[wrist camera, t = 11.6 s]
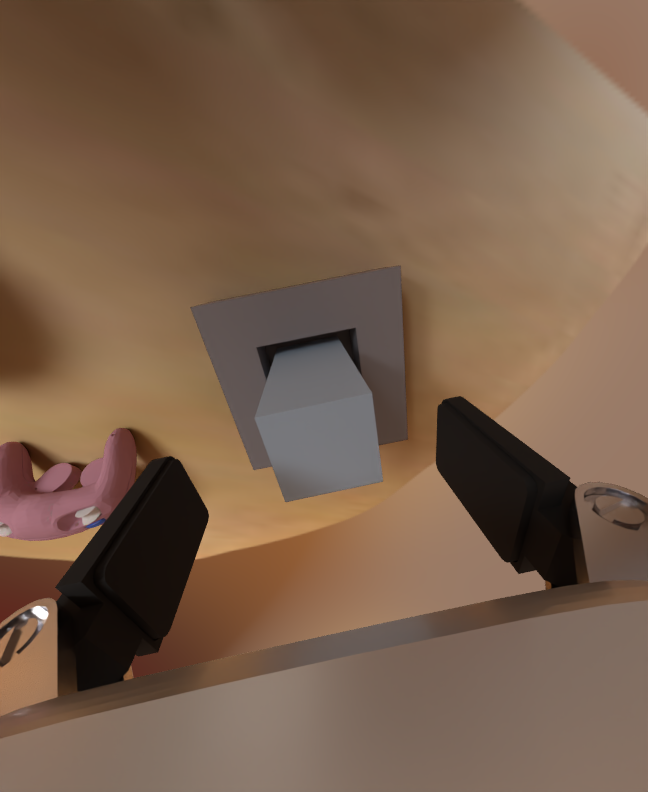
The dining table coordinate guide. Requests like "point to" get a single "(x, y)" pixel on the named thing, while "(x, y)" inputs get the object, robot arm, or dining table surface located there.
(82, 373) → the dining table surface
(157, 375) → the dining table surface
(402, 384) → the socket
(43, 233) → the dining table surface
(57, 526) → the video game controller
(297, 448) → the plug
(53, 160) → the dining table surface
